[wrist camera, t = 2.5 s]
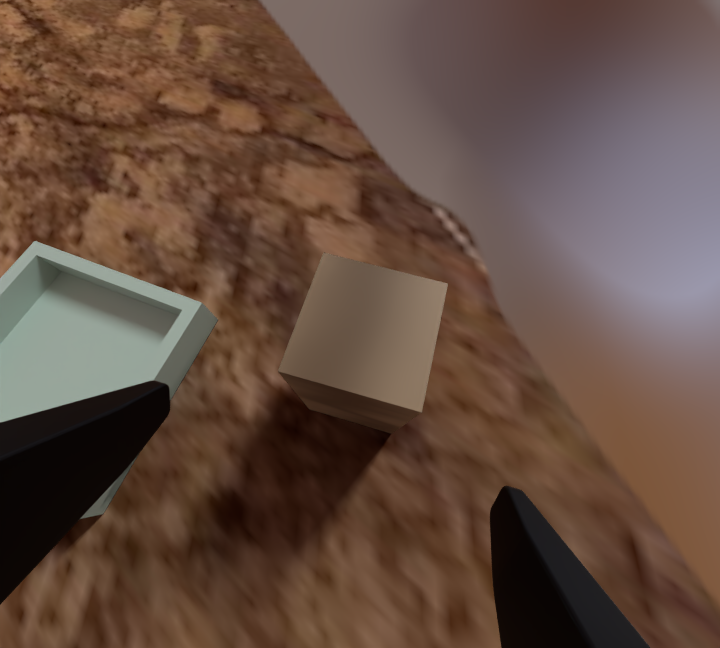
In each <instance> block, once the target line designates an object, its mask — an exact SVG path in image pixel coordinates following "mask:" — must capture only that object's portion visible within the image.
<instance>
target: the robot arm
mask: <svg viewBox="0 0 720 648" xmlns="http://www.w3.org/2000/svg"><path fill="white" fill-rule="evenodd" d="M169 411H170V388H169V386H168V385H167V384H166V383H162V382H159V381H155V380H152V381H148V382H144V383H140V384H137V385H133V386H130V387H126V388H122V389H119V390H115V391H112V392H108V393H105V394H101V395H97V396H94V397H90V398H87V399H83V400H79V401H76V402H72V403H69V404H65V405H61V406H58V407H54V408H51V409H47V410H43V411H40V412H36V413H33V414H29V415H25V416H22V417H18V418H15V419H11V420H7V421H4V422H0V604H1V603H2V602H3V601H4V600H5V599H6V598H7V597H8V596H9V595H10V594H11V593H12V592H13V590H14V589H15V588H16V587H17V586H18V585H19V584H20V583H21V582H22V581H23V580H24V579H25V578H26V576H27V575H28V574H29V573H30V572H31V571H32V570H33V569H34V568H35V567H36V566H37V565H38V564H39V562H40V561H41V560H42V559H43V558H44V557H45V556H46V555H47V554H48V553H49V552H50V551H51V550H52V548H53V547H54V546H55V545H56V544H57V543H58V542H59V541H60V540H61V539H62V538H63V537H64V536H65V535H66V533H67V532H68V531H69V530H70V529H71V528H72V527H73V526H74V525H75V524H76V523H77V522H78V521H79V519H80V518H81V517H82V516H83V515H84V514H85V513H86V512H87V511H88V510H89V509H90V508H91V507H92V505H93V504H94V503H95V502H96V501H97V500H98V499H99V498H100V497H101V496H102V495H103V494H104V493H105V491H106V490H107V489H108V488H109V487H110V486H111V485H112V484H113V483H114V482H115V481H116V480H117V479H118V477H119V476H120V475H121V474H122V473H123V472H124V471H125V470H126V469H127V468H128V466H129V465H130V464H131V463H132V462H133V460H134V459H135V458H136V457H137V455H138V454H139V453H140V451H141V450H142V449H143V447H144V446H145V445H146V444H147V442H148V441H149V440H150V438H151V437H152V436H153V435H154V433H155V432H156V431H157V429H158V428H159V427H160V425H161V424H162V423H163V422H164V420H165V419H166V418H167V416H168V414H169ZM490 532H491V556H492V578H493V589H494V598H495V605H496V612H497V619H498V626H499V633H500V640H501V647H502V648H650V647H649V645H648V644H647V643H646V642H645V641H644V639H643V638H642V637H641V636H640V634H639V633H638V632H637V631H636V629H635V628H634V627H633V626H632V625H631V623H630V622H629V621H628V620H627V618H626V617H625V616H624V615H623V614H622V612H621V611H620V610H619V609H618V607H617V606H616V605H615V604H614V602H613V601H612V600H611V599H610V598H609V596H608V595H607V594H606V593H605V591H604V590H603V589H602V588H601V587H600V585H599V584H598V583H597V582H596V580H595V579H594V578H593V577H592V575H591V574H590V573H589V572H588V571H587V569H586V568H585V567H584V566H583V564H582V563H581V562H580V561H579V560H578V558H577V557H576V556H575V555H574V553H573V552H572V551H571V550H570V548H569V547H568V546H567V545H566V544H565V542H564V541H563V540H562V539H561V537H560V536H559V535H558V534H557V532H556V531H555V530H554V529H553V528H552V526H551V525H550V524H549V523H548V521H547V520H546V519H545V518H544V517H543V515H542V514H541V513H540V512H539V510H538V509H537V508H536V507H535V505H534V504H533V503H532V502H531V501H530V499H529V498H528V497H527V496H526V494H525V493H524V492H523V491H522V490H520V489H516V488H513V487H510V486H504V487H503V488H502V489H501V491H500V492H499V494H498V496H497V498H496V500H495V502H494V504H493V506H492V508H491V511H490Z"/></svg>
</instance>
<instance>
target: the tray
mask: <svg viewBox="0 0 720 648" xmlns="http://www.w3.org/2000/svg"><path fill="white" fill-rule="evenodd" d="M217 321H218V319H217V318H216V317H215V316H214V315H213V314H212V313H211V312H210V311H209V310H208V309H207V308H206V307H205V305H204V304H203V303H201V302H198V301H196V300H193V299H190V298H188V297H185V296H182V295H179V294H177V293H174V292H171V291H169V290H166V289H163V288H161V287H158V286H155V285H153V284H150V283H147V282H144V281H142V280H139V279H136V278H134V277H131V276H128V275H126V274H123V273H120V272H117V271H115V270H112V269H109V268H107V267H104V266H101V265H99V264H96V263H93V262H91V261H88V260H85V259H82V258H80V257H77V256H74V255H72V254H69V253H66V252H64V251H61V250H58V249H55V248H53V247H50V246H47V245H45V244H42V243H39V242H37V241H34V242H33V243H32V245H31V246H30V247H29V248H28V249H27V250H26V251H25V252H24V253H23V254H22V255H21V257H20V258H19V259H18V260H17V261H16V262H15V263H14V264H13V265H12V266H11V267H10V269H9V270H8V271H7V272H6V273H5V274H4V275H3V276H2V277H1V278H0V422H4V421H7V420H11V419H15V418H18V417H22V416H25V415H29V414H33V413H36V412H40V411H43V410H47V409H51V408H54V407H58V406H61V405H65V404H69V403H72V402H76V401H79V400H83V399H87V398H90V397H94V396H97V395H101V394H105V393H108V392H112V391H115V390H119V389H122V388H126V387H130V386H133V385H137V384H140V383H144V382H148V381H152V380H155V381H159V382H162V383H166V384H167V385H168V386H169V388H170V400H171V399H172V397H173V395H174V393H175V392H176V390H177V388H178V387H179V385H180V383H181V382H182V380H183V378H184V377H185V375H186V373H187V371H188V370H189V368H190V366H191V365H192V363H193V361H194V360H195V358H196V356H197V355H198V353H199V351H200V349H201V348H202V346H203V344H204V343H205V341H206V339H207V338H208V336H209V334H210V333H211V331H212V329H213V328H214V326H215V324H216V322H217ZM137 456H138V455H137ZM136 458H137V457H136ZM136 458H135V459H136ZM135 459H134V460H133V462H132V463H131V464H130V465H129V466H128V468H127V469H126V470H125V471H124V472H123V473H122V474H121V475H120V476H119V477H118V479H117V480H116V481H115V482H114V483H113V484H112V485H111V486H110V487H109V488H108V489H107V490H106V491H105V493H104V494H103V495H102V496H101V497H100V498H99V499H98V500H97V501H96V502H95V503H94V504H93V505H92V507H91V508H90V509H89V510H88V511H87V512H86V513H85V514H84V515H83V516H82V517H81V518H80V519H82V518H87V517H91V516H96V515H101V514H103V513H104V512H105V510H106V508H107V507H108V505H109V503H110V502H111V500H112V498H113V497H114V495H115V493H116V491H117V490H118V488H119V486H120V485H121V483H122V481H123V480H124V478H125V476H126V475H127V473H128V471H129V469H130V468H131V466H132V464H133V463H134V461H135Z"/></svg>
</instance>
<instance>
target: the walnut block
mask: <svg viewBox="0 0 720 648" xmlns="http://www.w3.org/2000/svg"><path fill="white" fill-rule="evenodd" d="M447 286H448V284H447V283H443V282H439V281H435V280H431V279H427V278H423V277H419V276H415V275H411V274H407V273H403V272H399V271H395V270H391V269H387V268H383V267H379V266H375V265H371V264H367V263H363V262H359V261H356V260H352V259H348V258H344V257H340V256H336V255H332V254H328V253H323V255H322V258H321V261H320V263H319V266H318V268H317V271H316V274H315V276H314V279H313V281H312V284H311V287H310V289H309V292H308V294H307V297H306V299H305V302H304V305H303V307H302V310H301V312H300V315H299V318H298V320H297V323H296V325H295V328H294V331H293V333H292V336H291V338H290V341H289V344H288V346H287V349H286V351H285V354H284V357H283V359H282V362H281V364H280V367H279V370H278V372H279V373H280V374H281V376H282V377H283V378H284V379H285V380H286V382H287V383H288V384H289V385H290V387H291V388H292V389H293V390H294V391H295V393H296V394H297V395H298V396H299V398H300V399H301V400H302V401H303V402H304V404H305V405H306V406H307V407H308V409H309V410H313V411H316V412H320V413H323V414H326V415H330V416H333V417H337V418H340V419H343V420H347V421H350V422H354V423H357V424H360V425H364V426H367V427H371V428H374V429H377V430H381V431H384V432H388V433H391V434H392V433H393V432H395V431H396V430H397V429H399V428H400V427H402V426H403V425H404V424H406V423H407V422H409V421H410V420H412V419H413V418H414V417H416V416H417V415H419V414H420V413H421V412H422V408H423V403H424V398H425V394H426V389H427V384H428V379H429V374H430V369H431V364H432V359H433V354H434V349H435V345H436V340H437V335H438V330H439V325H440V320H441V315H442V310H443V305H444V300H445V296H446V291H447Z"/></svg>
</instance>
